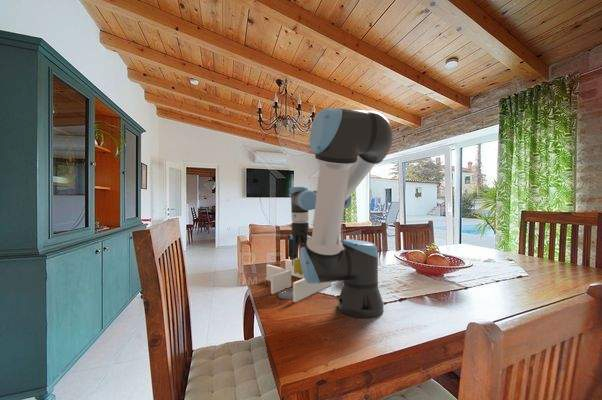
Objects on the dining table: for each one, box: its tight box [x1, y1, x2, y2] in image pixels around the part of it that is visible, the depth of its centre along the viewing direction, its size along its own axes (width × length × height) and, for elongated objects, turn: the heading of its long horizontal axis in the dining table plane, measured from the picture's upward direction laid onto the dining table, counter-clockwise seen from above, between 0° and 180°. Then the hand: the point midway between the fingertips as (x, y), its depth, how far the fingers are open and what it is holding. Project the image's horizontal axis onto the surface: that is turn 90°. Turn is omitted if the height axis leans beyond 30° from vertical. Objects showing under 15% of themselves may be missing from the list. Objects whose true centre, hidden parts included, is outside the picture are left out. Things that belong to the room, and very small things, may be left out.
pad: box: [277, 289, 293, 300], centre depth 100 cm, size 8×8×1 cm
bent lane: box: [265, 259, 332, 303], centre depth 111 cm, size 27×23×7 cm
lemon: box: [295, 257, 303, 275], centre depth 113 cm, size 6×6×8 cm
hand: (300, 274), depth 113 cm, fingers closed on lemon, 5 cm apart
